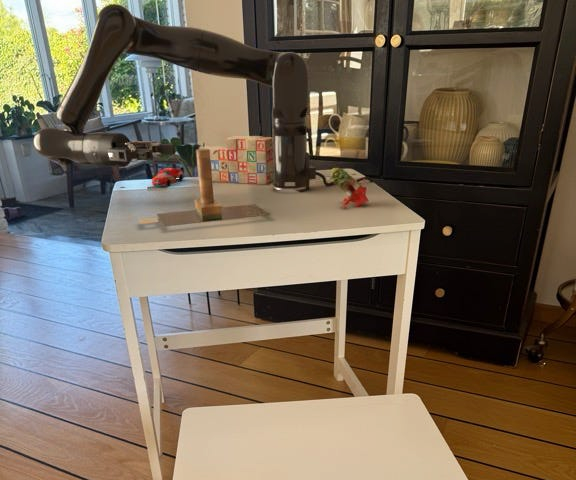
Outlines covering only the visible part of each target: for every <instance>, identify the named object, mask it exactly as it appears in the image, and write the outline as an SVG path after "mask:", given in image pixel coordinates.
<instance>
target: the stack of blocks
mask: <svg viewBox="0 0 576 480" xmlns="http://www.w3.org/2000/svg"><path fill="white" fill-rule="evenodd" d="M225 139H226V146H224V145H223V146H222V145H217V146H216V145H207V146H203V147H200V148H199V149H210V160H211V172H212V182H222V183H235V184H252V185H253V184H254V185H268V184H270V183H272V182H274V170H273V138H272V137H271V136H262V135H232V136H230V137H227V138H225Z"/></svg>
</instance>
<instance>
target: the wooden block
mask: <svg viewBox="0 0 576 480" xmlns="http://www.w3.org/2000/svg"><path fill="white" fill-rule="evenodd" d="M139 222H140V223H139V224H140V225H143V224H154V223H159V222H160V221H159V218H158V217H153V218H152V217H151V218H141V219H139Z"/></svg>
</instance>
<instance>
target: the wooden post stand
mask: <svg viewBox="0 0 576 480" xmlns="http://www.w3.org/2000/svg"><path fill="white" fill-rule="evenodd" d="M195 156H196V167H197V168H196V169H197V179H198V188H199V197H200V198H194V210H196V213H197V214H198V215H199V216H200V218H201V219H202V220H211V219H221V218H222V210H221V207H222V205H221V204H220V203H219V202H218V201H217V200H216V199H215V197H214V195H215V194H214V185H213V181H212V172H211V160H210V149H200V148H197V149H195Z"/></svg>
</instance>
